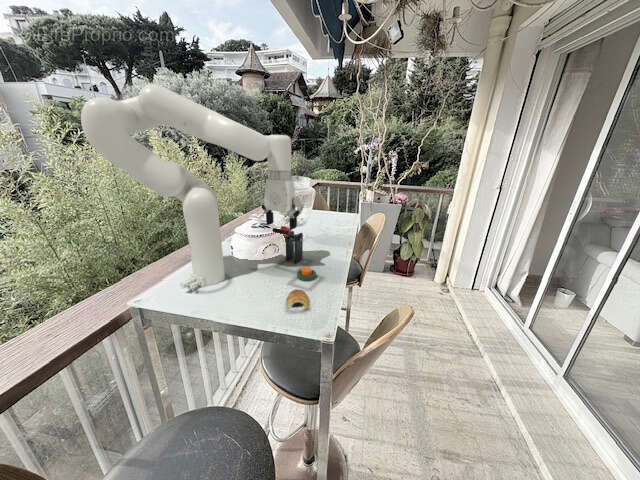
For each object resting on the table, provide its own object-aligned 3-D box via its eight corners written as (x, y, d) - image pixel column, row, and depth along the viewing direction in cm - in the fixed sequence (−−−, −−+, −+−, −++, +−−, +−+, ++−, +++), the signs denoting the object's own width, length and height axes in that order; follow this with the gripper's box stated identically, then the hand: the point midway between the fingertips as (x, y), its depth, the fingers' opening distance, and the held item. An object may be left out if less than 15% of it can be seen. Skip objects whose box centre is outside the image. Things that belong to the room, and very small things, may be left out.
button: (308, 277, 90) (308, 272, 89) (299, 274, 91) (299, 269, 91) (313, 272, 93) (313, 268, 92) (304, 270, 94) (304, 266, 94)
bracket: (295, 272, 98) (295, 240, 94) (275, 266, 102) (275, 235, 97) (311, 261, 108) (312, 231, 104) (292, 256, 112) (292, 227, 108)
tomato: (278, 237, 133) (277, 222, 130) (294, 239, 131) (294, 224, 128) (270, 243, 125) (270, 227, 122) (288, 245, 123) (288, 229, 120)
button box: (309, 290, 87) (309, 281, 86) (289, 283, 90) (288, 275, 89) (323, 277, 95) (323, 270, 94) (304, 272, 99) (304, 264, 98)
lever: (285, 235, 90) (287, 229, 90) (271, 232, 93) (273, 226, 93) (301, 243, 101) (303, 237, 101) (288, 240, 104) (290, 234, 104)
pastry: (287, 294, 84) (287, 284, 82) (308, 294, 84) (308, 284, 83) (286, 312, 75) (286, 301, 74) (309, 312, 76) (310, 300, 74)
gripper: (251, 174, 86) (254, 225, 92) (296, 179, 79) (296, 233, 85) (266, 172, 93) (268, 219, 99) (308, 176, 85) (308, 227, 91)
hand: (281, 226), depth 92 cm, fingers open, 9 cm apart
